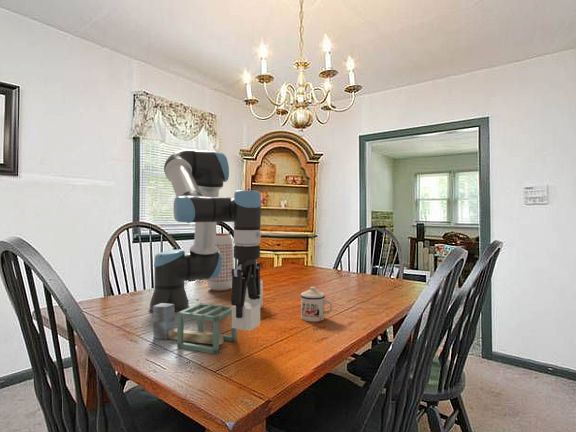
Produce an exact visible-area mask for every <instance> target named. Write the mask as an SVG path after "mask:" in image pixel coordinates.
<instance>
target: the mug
mask: <svg viewBox="0 0 576 432" xmlns="http://www.w3.org/2000/svg"><path fill="white" fill-rule="evenodd" d="M263 283H264V282H263V280H261V279H260V295H258V296H260V299H256V303H258V304H260V309H261V308H262V307H263V291H264V289H263ZM247 299H250V298H249V296H248V289H246V295H245V302H247Z"/></svg>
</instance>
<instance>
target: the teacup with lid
mask: <svg viewBox="0 0 576 432" xmlns="http://www.w3.org/2000/svg"><path fill="white" fill-rule="evenodd" d="M325 298H326V293H324V292H322V291H319V290H318V289H316V286H310V288H309V289H308V290H305V291H303V292H301V294H300V310H301V311H300V312H301V313H300V319H302V320H303V321H305V322H310V323H311V322H314V323H317V322H321V321H324V319H325V315H327V314H329V313H331V311H333V307H334V306H333V303H332V301H330V300H329V299H325ZM325 303H328V304H329V306H330V307H329V310H327V311H325Z"/></svg>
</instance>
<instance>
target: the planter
mask: <svg viewBox="0 0 576 432" xmlns="http://www.w3.org/2000/svg"><path fill="white" fill-rule="evenodd" d="M215 246H216V247H217V248H218V251H219V252H220V253H221V255H222V267H221V271H220V274H219V275H218V276H217V277H216V278H212V279H208V280H206V282H207V283H206V284H207V285H208V287H209V288H210V289H211V291H212V292H226V291H229V290H230V288H232V273H231V270H232V269H235V267H234V264H235V263H234V246H233V239H232V236H231V235H230V233H227V232H226V233H225V232H223V233H221V232H219V233H217V232H216V238H215Z"/></svg>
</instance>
